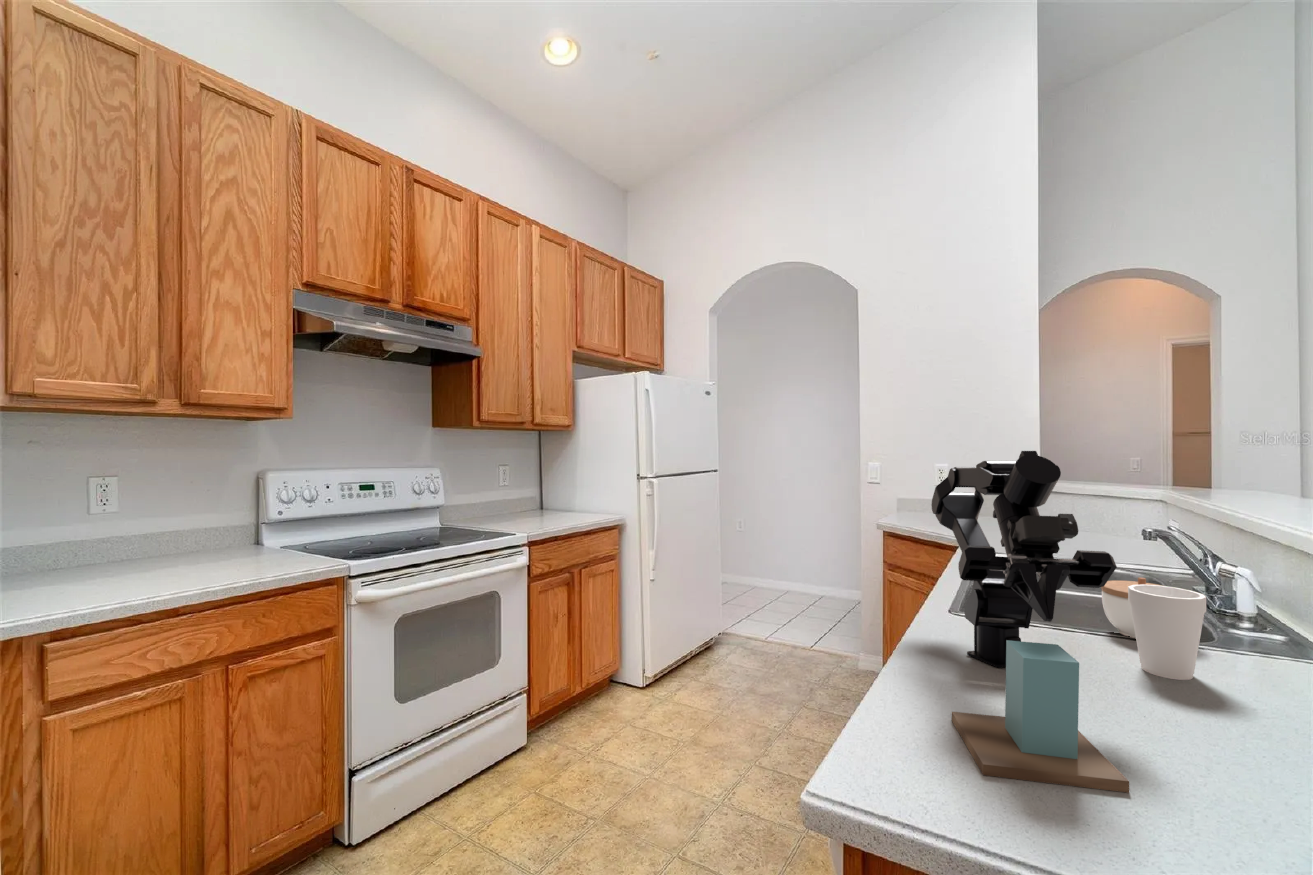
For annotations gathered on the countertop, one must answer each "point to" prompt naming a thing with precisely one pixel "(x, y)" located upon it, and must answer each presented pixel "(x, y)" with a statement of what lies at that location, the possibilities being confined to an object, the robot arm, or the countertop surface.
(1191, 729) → the countertop surface
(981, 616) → the robot arm
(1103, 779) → the post board
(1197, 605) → the foam cup
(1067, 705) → the teal rectangular prism
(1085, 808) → the countertop surface
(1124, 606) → the lidded bowl
